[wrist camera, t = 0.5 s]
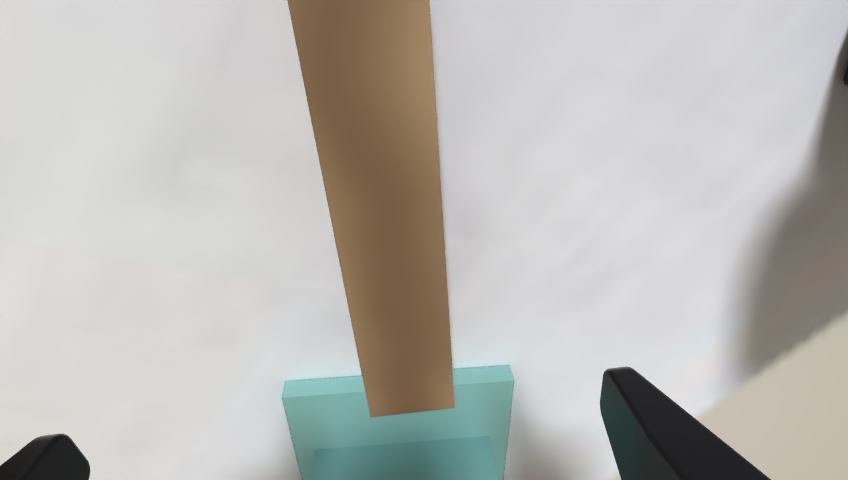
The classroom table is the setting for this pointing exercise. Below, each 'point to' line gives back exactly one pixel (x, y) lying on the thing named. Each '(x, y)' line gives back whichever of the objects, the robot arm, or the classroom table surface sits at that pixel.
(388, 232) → the walnut bar
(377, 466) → the fulcrum block
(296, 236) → the classroom table surface
